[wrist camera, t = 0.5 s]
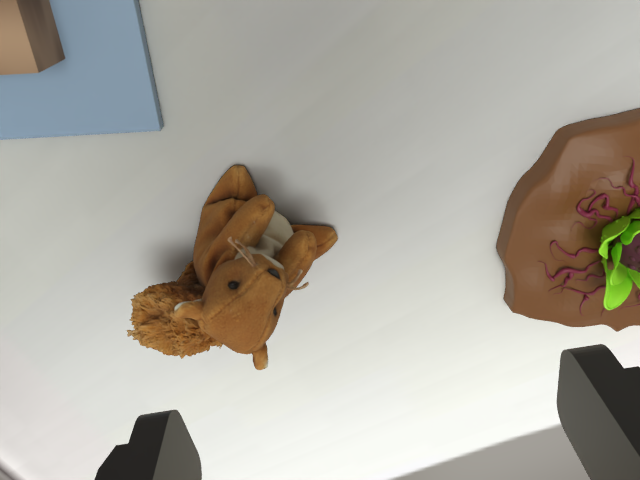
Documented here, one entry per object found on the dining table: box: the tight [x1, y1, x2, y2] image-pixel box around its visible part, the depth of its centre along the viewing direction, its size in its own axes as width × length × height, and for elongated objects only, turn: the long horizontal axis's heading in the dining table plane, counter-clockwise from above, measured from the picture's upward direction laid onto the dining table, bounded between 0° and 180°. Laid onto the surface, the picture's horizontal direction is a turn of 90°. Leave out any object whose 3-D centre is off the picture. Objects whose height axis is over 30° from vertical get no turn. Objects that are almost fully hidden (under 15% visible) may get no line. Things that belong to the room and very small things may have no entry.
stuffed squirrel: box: [127, 165, 338, 370], centre depth 36 cm, size 10×14×13 cm
